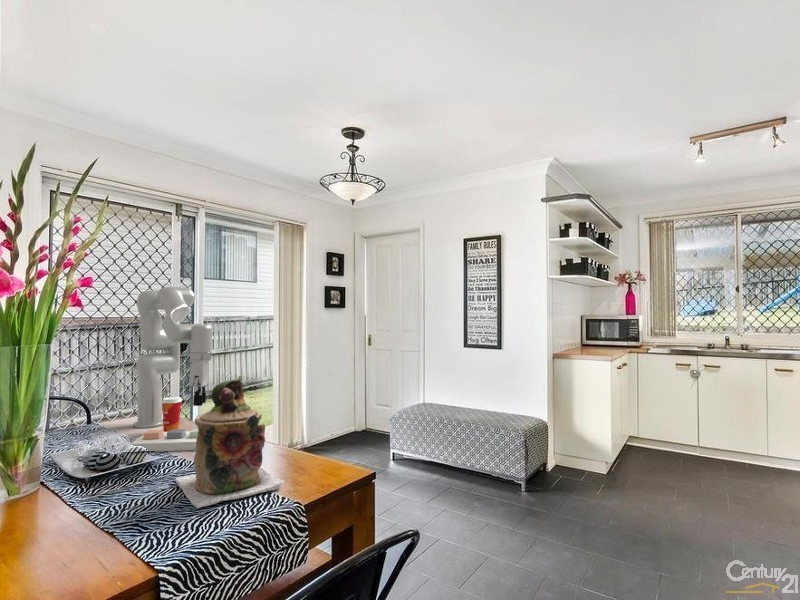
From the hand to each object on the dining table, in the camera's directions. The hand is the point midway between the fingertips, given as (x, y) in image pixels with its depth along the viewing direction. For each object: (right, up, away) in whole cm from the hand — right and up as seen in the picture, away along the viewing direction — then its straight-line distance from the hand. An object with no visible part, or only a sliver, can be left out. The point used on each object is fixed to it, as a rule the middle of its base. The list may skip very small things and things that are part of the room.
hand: (199, 403), depth 173 cm
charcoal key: (-8, -12, -2) cm, 15 cm away
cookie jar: (+27, -15, -42) cm, 52 cm away
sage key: (0, -13, 0) cm, 12 cm away
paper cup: (-19, -16, +16) cm, 30 cm away
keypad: (-8, -15, -2) cm, 17 cm away
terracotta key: (-16, -12, -3) cm, 20 cm away
